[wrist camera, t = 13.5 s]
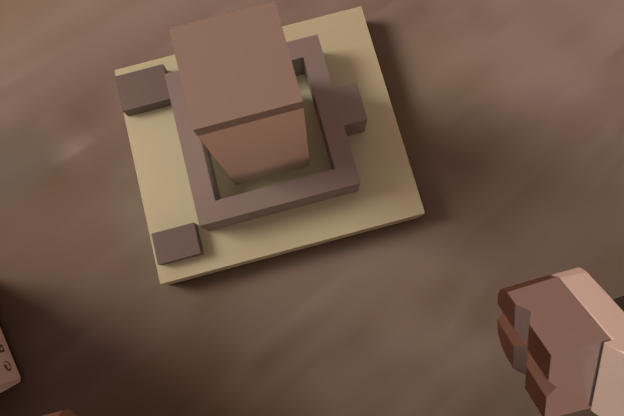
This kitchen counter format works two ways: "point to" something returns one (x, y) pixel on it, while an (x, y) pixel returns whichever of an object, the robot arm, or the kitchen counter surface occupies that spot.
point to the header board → (280, 187)
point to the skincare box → (7, 366)
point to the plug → (243, 92)
